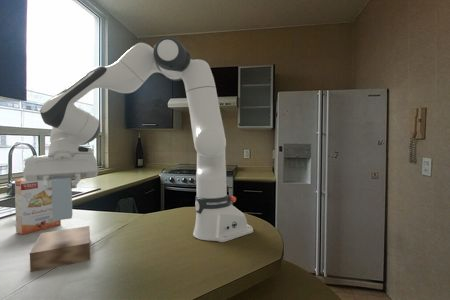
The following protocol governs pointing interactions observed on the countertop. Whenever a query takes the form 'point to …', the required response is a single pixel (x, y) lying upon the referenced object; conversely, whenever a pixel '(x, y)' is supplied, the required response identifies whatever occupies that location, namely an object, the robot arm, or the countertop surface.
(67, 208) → the block
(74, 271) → the countertop surface
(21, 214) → the cracker box
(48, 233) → the walnut wood block
